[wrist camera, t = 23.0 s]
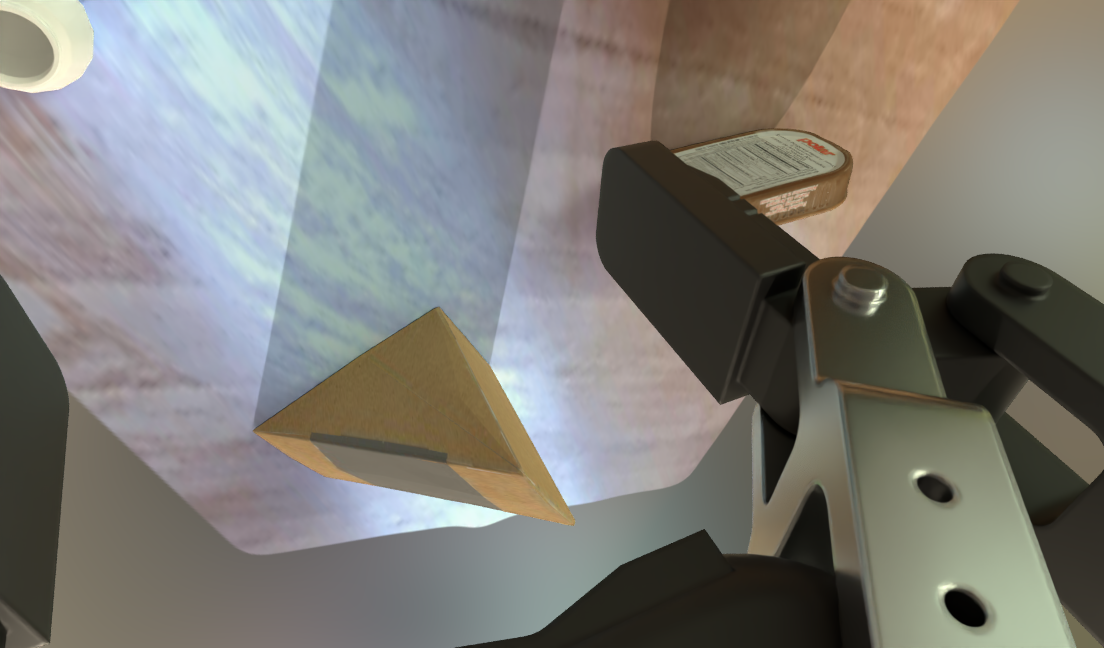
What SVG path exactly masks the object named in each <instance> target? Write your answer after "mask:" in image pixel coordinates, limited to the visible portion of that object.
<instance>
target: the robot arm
mask: <svg viewBox="0 0 1104 648" xmlns="http://www.w3.org/2000/svg"><path fill="white" fill-rule="evenodd" d="M596 242H597V248H598V253H599V256H600V259H601V261H602V263H603V265H604V267H605V269H606V270H607V271H608V273H609V274H610V275H611V276H612V277H613V279H614V280H615V281H616V282H617V283H618V285H619V286H620V287H621V288H622V289H623V290H624V292H625V293H626V294H627V295H628V296H629V298H630V299H631V300H632V301H633V302H634V303H635V305H636V306H637V307H638V308H639V309H640V311H641V312H642V313H643V314H644V315H645V316H646V318H647V319H648V320H649V321H650V322H651V324H652V325H653V326H654V327H655V328H656V329H657V331H658V332H659V333H660V334H661V335H662V337H663V338H664V339H665V340H666V341H667V342H668V344H669V345H670V346H671V347H672V348H673V350H674V351H675V352H676V353H677V354H678V355H679V357H680V358H681V359H682V360H683V361H684V363H685V364H686V365H687V366H688V367H689V368H690V370H691V371H692V372H693V373H694V374H695V376H696V377H697V378H698V379H699V380H700V381H701V383H702V384H703V385H704V386H705V387H706V389H707V390H708V391H709V392H710V393H711V394H712V396H713V397H714V398H715V399H716V400H717V402H718V403H719V404H720V405H721V404H724V403H727V402H730V401H732V400H735V399H738V398H741V397H743V396H746V395H749V394H750V395H751V396H752V397H753V398H754V399H755V401H756V402H757V404H756V407H755V410H754V412H753V415H752V473H753V474H752V477H753V478H752V484H753V524H752V532H751V538H750V543H749V547H748V551H747V554H722V553H721V552H720V551H719V549H718V548H717V546H716V545H715V543H714V542H713V540H712V539H711V537H710V536H709V535H708V533H707V532H706V530H705V529H703V530H701V531H699V532H697V533H694V534H692V535H689V536H687V537H685V538H683V539H680V540H678V541H676V542H673V543H671V544H669V545H666V546H664V547H662V548H659V549H657V550H655V551H653V552H650V553H648V554H646V555H643V556H641V557H639V558H636V559H634V560H632V561H629V562H627V563H625V564H623V565H620V566H619V567H618V568H617V569H616V570H614V571H613V572H612V573H611V574H609V575H608V576H607V577H606V578H605V579H603V580H602V581H601V582H600V583H598V584H597V585H596V586H595V587H594V588H592V589H591V590H590V591H589V592H588V593H586V594H585V595H584V596H583V597H581V598H580V599H579V600H578V601H576V602H575V603H574V604H573V605H572V606H570V607H569V608H568V609H567V610H566V611H564V612H563V613H562V614H561V615H559V616H558V617H557V618H556V619H555V620H553V621H552V622H551V623H550V624H548V625H547V626H546V627H545V628H543V629H542V630H540V631H539V632H536V633H534V634H532V635H528V636H524V637H518V638H512V639H506V640H500V641H493V642H487V643H481V644H475V645H468V646H462V647H456V648H1076V645H1075V642H1074V640H1073V637H1072V634H1071V631H1070V628H1069V626H1068V623H1067V620H1066V618H1065V615H1064V612H1063V609H1062V606H1061V604H1062V605H1063V606H1064V607H1065V608H1066V609H1067V610H1068V611H1069V612H1070V613H1071V614H1072V615H1073V616H1074V617H1075V618H1076V619H1077V621H1078V622H1080V624H1081V625H1082V626H1083V627H1084V628H1085V629H1086V630H1087V631H1088V632H1089V633H1090V634H1091V635H1092V636H1093V637H1094V638H1095V639H1096V640H1097V641H1098V642H1099V643H1100V644H1101V645H1102V646H1103V647H1104V470H1103V471H1102V473H1101V474H1100V475H1099V476H1098V477H1097V478H1096V479H1095V480H1094V481H1093V482H1092V483H1091V484H1090V485H1089V484H1088V483H1086V482H1085V481H1084V480H1083V479H1082V478H1081V477H1080V476H1078V475H1077V474H1076V473H1075V472H1074V471H1073V470H1072V469H1070V468H1069V467H1068V466H1067V465H1066V464H1065V463H1064V462H1062V461H1061V460H1060V459H1059V458H1058V457H1057V456H1056V455H1054V454H1053V453H1052V452H1051V451H1050V450H1049V449H1047V448H1046V447H1045V446H1044V445H1043V444H1042V443H1041V442H1039V441H1038V440H1037V439H1036V438H1034V436H1033V435H1031V434H1030V433H1029V432H1028V431H1027V430H1026V429H1024V428H1023V427H1022V426H1021V425H1020V424H1019V423H1017V422H1016V421H1015V420H1014V419H1013V418H1012V417H1010V416H1009V415H1008V414H1007V413H1006V412H1005V411H1006V409H1007V408H1008V407H1009V405H1010V404H1011V403H1012V401H1013V400H1014V399H1015V397H1016V396H1017V395H1018V393H1019V392H1020V391H1021V389H1022V388H1023V387H1024V385H1025V384H1026V383H1027V381H1028V380H1030V381H1032V382H1033V383H1034V384H1036V385H1037V386H1038V387H1039V388H1040V389H1042V390H1043V391H1044V392H1045V393H1047V394H1048V395H1049V396H1051V397H1052V398H1053V399H1054V400H1055V401H1057V402H1058V403H1059V404H1060V405H1061V406H1063V407H1064V408H1065V409H1066V410H1068V411H1069V412H1070V413H1071V414H1073V415H1074V416H1075V417H1076V418H1078V419H1079V420H1080V421H1081V422H1083V423H1084V424H1085V425H1086V426H1088V427H1089V428H1090V429H1091V430H1092V431H1093V432H1094V433H1095V434H1096V435H1097V436H1098V437H1099V439H1100V440H1101V442H1102V443H1103V446H1104V304H1102V303H1101V302H1099V301H1098V300H1096V299H1095V298H1093V297H1092V296H1090V295H1089V294H1087V293H1086V292H1084V291H1083V290H1081V289H1080V288H1078V287H1077V286H1075V285H1073V284H1072V283H1071V282H1069V281H1068V280H1066V279H1064V278H1063V277H1061V276H1060V275H1058V274H1057V273H1055V272H1053V271H1052V270H1050V269H1048V268H1046V267H1044V266H1042V265H1040V264H1037V263H1034V262H1032V261H1029V260H1026V259H1023V258H1019V257H1015V256H1011V255H1004V254H982V255H977V256H974V257H972V258H970V259H969V260H967V262H966V263H965V264H964V266H963V268H962V269H961V271H960V273H959V275H958V277H957V278H956V280H955V282H954V284H953V285H952V287H935V288H934V287H930V288H911V287H910V286H909V285H908V284H907V283H906V282H905V281H904V280H903V279H901V278H900V277H899V276H898V275H896V274H895V273H893V272H892V271H890V270H888V269H886V268H884V267H882V266H880V265H877V264H875V263H872V262H869V261H865V260H861V259H856V258H849V257H829V258H824V259H819V258H817V257H816V256H815V255H814V254H812V253H811V252H810V251H809V250H807V249H806V248H805V247H804V246H802V245H801V244H800V243H799V242H797V241H796V240H795V239H794V238H793V237H791V236H790V235H789V234H788V233H786V232H785V231H784V230H783V229H781V228H780V227H779V226H778V225H776V224H775V223H774V222H773V221H771V220H770V219H769V218H768V217H766V216H765V215H764V214H763V213H760V214H758V212H757V209H756V208H755V207H754V206H753V205H751V204H750V203H749V202H748V201H746V200H745V199H740V195H739V194H738V193H736V192H735V191H734V190H733V189H731V188H730V187H729V186H728V185H726V184H725V183H724V182H723V181H721V180H720V179H719V178H717V177H715V176H713V175H710V174H708V173H706V172H703V171H701V170H699V169H696V168H694V167H692V166H690V165H687V164H686V163H685V162H683V161H682V160H681V159H680V158H678V157H677V156H676V155H675V154H674V153H672V152H671V151H670V150H669V149H668V148H666V147H665V146H664V145H663V144H661V143H660V142H658V141H648V142H642V143H637V144H632V145H627V146H621V147H616V148H612V149H610V150H609V151H608V152H607V153H606V155H605V158H604V162H603V169H602V179H601V189H600V199H599V209H598V219H597V229H596ZM68 416H69V398H68V392H67V387H66V384H65V380H64V377H63V375H62V372H61V370H60V367H59V365H58V363H57V361H56V360H55V358H54V356H53V355H52V353H51V352H50V350H49V349H48V347H47V345H46V344H45V342H44V341H43V339H42V338H41V336H40V334H39V333H38V331H37V330H36V328H35V327H34V325H33V324H32V322H31V320H30V319H29V317H28V316H27V314H26V313H25V311H24V309H23V308H22V306H21V305H20V303H19V302H18V300H17V299H16V297H15V295H14V294H13V292H12V291H11V289H10V288H9V286H8V284H7V283H6V282H5V280H4V279H3V277H2V276H1V275H0V648H38V647H41V646H44V645H46V644H49V643H50V636H51V624H52V612H53V599H54V587H55V575H56V563H57V562H56V561H57V549H58V537H59V526H60V525H59V524H60V514H61V501H62V489H63V477H64V465H65V452H66V439H67V428H68ZM1060 603H1061V604H1060Z"/></svg>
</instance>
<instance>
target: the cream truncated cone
mask: <svg viewBox="0 0 1104 648" xmlns="http://www.w3.org/2000/svg"><path fill="white" fill-rule="evenodd" d="M93 38H94V31H93V28H92V26H91V24H90V21H89V19H88V16H87V14H86V12H85V9H84V7H83V5H82V4H81V3H80V2H79V1H78V0H0V87H3V88H8V89H14V90H19V91H25V92H30V93H36V92H44V91H51V90H59V89H62V88H63V87H65V86H67V85H68V84H70V83H72V82H74V81H75V80H77V79H79V78H80V77H81V76H82V75H83V73H84V71H85V70H86V68H87V67H88V65H89V63H90V62H91V60H92V58H93Z"/></svg>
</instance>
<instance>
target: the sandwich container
mask: <svg viewBox="0 0 1104 648" xmlns="http://www.w3.org/2000/svg"><path fill="white" fill-rule="evenodd" d="M253 432H254V433H255V434H257V435H258V436H260V437H261V438H263V439H264V440H266V441H267V442H269V443H270V444H271V445H273V446H274V447H276V448H277V449H279V450H280V451H282V452H283V453H285V454H286V455H287V456H289V457H290V458H292V459H294V460H296V461H298V462H299V463H301V464H303V465H305V466H307V467H308V468H310V469H312V470H314V471H316V472H317V473H319V474H321V475H323V476H325V477H329V478H335V479H341V480H346V481H352V482H357V483H363V484H368V485H374V486H379V487H385V488H390V489H395V490H400V491H406V492H411V493H416V494H421V495H426V496H431V497H436V498H441V499H446V500H451V501H457V502H462V503H468V504H473V505H478V506H482V507H487V508H491V509H496V510H501V511H505V512H510V513H514V514H519V515H524V516H530V517H534V518H538V519H543V520H547V521H553V522H557V523H562V524H566V525H573V526H574V524H575V519H574V518H573V516H572V514H571V512H570V510H569V508H568V507H567V505H566V503H565V501H564V499H563V498H562V496H561V494H560V492H559V490H558V488H557V487H556V485H555V483H554V481H553V479H552V478H551V476H550V474H549V472H548V470H547V468H546V467H545V465H544V463H543V461H542V459H541V458H540V456H539V454H538V452H537V450H536V448H535V447H534V445H533V443H532V441H531V439H530V438H529V436H528V434H527V432H526V430H525V428H524V427H523V425H522V423H521V421H520V419H519V418H518V416H517V414H516V412H515V410H514V408H513V407H512V405H511V403H510V401H509V399H508V398H507V396H506V394H505V392H504V390H503V389H502V387H501V385H500V383H499V381H498V380H497V378H496V376H495V374H494V372H493V370H492V369H491V367H490V365H489V364H488V363H487V362H486V361H485V360H484V358H483V357H482V356H481V355H480V354H479V352H478V351H477V350H476V349H475V348H474V347H473V345H472V344H471V343H470V342H469V341H468V339H467V338H466V337H465V336H464V335H463V334H462V333H461V331H460V330H459V329H458V328H457V327H456V326H455V325H454V323H453V322H452V321H451V320H450V319H449V318H448V316H447V315H446V314H445V313H444V312H443V311H442V310H441V308H440V307H437V308H434V309H433V310H431V311H430V312H428V313H427V314H425V315H424V316H422V317H420V318H419V319H417V320H416V321H414V322H413V323H411V324H409V325H408V326H406V327H405V328H403V329H402V330H400V331H398V332H397V333H395V334H394V335H392V336H391V337H389V338H387V339H386V340H384V341H383V342H381V343H380V344H378V345H376V346H375V347H373V348H372V349H370V350H369V351H367V352H365V353H364V354H362V355H361V356H359V357H358V358H356V359H355V360H354V361H352V362H351V363H349V364H348V365H346V366H345V367H344V368H342V369H341V370H339V371H338V372H336V373H335V374H333V375H332V376H331V377H329V378H328V379H326V380H325V381H323V382H322V383H321V384H319V385H318V386H316V387H315V388H313V389H312V390H310V391H309V392H308V393H306V394H305V395H303V396H302V397H300V398H299V399H298V400H296V401H295V402H293V403H292V404H290V405H289V406H287V407H286V408H285V409H283V410H282V411H280V412H279V413H277V414H276V415H274V416H273V417H272V418H270V419H269V420H267V421H266V422H264V423H263V424H262V425H260V426H259V427H257V428H256V429H254V430H253Z"/></svg>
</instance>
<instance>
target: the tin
mask: <svg viewBox="0 0 1104 648" xmlns="http://www.w3.org/2000/svg"><path fill="white" fill-rule="evenodd" d="M670 151H671V152H672V153H674V154H675V155H676V156H677V157H678V158H680V159H681V160H682V161H683V162H685V163H686V164H687V165H690V166H692V167H694V168H696V169H699V170H701V171H703V172H706V173H708V174H710V175H713V176H715V177H717V178H719V179H720V180H721V181H723V182H724V183H725V184H726V185H728V186H729V187H730V188H731V189H733V190H734V191H735V192H736V193H738V194H739V195H740V199H745V200H746V201H748V202H749V203H750V204H751V205H753V206H754V207H755V208H756V209H757V212H758V214H760V213H763V214H764V215H765V216H766V217H768V218H769V219H770V220H771V221H773V222H774V223H775V224H776V225H782V224H785V223H789V222H793V221H795V220H799V219H803V218H807V217H810V216H814V215H817V214H821V213H825V212H828V211H831V210H833V209H835V208H837V207H838V206H840V205H841V204H842V203H843V202H844V201H845V199H846V197H847V187H848V184H849V180H850V176H851V173H852V168H853V159H852V156H851V154H850V152H848V151H847V150H845V149H843V148H842V147H840V146H838V145H836V144H835V143H833V142H830V141H828V140H826V139H824V138H822V137H820V136H818V135H816V134H814V133H811V132H807V131H802V130H794V129H762V130H756V131H752V132H747V133H743V134H738V135H734V136H730V137H725V138H721V139H716V140H712V141H708V142H703V143H699V144H695V145H690V146H686V147H682V148H678V149H674V150H670Z"/></svg>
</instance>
